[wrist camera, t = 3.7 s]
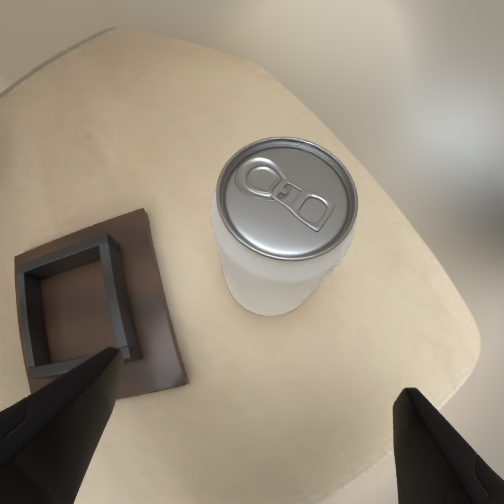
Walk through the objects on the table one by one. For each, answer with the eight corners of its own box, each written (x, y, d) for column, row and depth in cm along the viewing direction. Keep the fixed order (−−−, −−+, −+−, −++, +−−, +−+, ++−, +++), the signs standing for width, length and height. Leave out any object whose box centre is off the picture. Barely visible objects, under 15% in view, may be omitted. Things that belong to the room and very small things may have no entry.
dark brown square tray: (189, 383, 20) (178, 387, 17) (41, 409, 19) (17, 413, 15) (146, 212, 25) (133, 192, 21) (20, 259, 23) (-2, 247, 20)
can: (258, 218, 25) (266, 109, 13) (327, 264, 23) (390, 180, 12) (208, 283, 23) (170, 208, 11) (281, 334, 22) (316, 308, 10)
